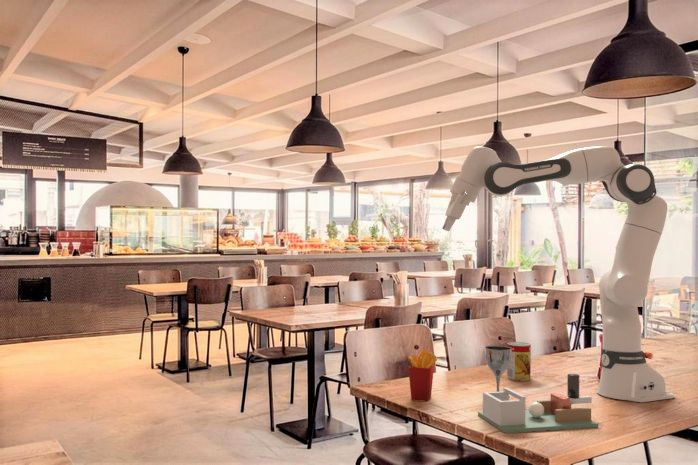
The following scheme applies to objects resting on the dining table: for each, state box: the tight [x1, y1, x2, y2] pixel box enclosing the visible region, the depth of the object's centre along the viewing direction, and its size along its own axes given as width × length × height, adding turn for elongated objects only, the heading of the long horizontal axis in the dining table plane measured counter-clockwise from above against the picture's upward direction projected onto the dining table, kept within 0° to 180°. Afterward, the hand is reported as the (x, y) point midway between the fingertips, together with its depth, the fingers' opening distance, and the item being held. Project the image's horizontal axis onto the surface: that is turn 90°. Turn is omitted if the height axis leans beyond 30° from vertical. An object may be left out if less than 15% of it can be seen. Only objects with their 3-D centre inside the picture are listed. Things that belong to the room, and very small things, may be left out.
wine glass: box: [484, 344, 512, 399], centre depth 188 cm, size 8×8×15 cm
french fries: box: [407, 348, 438, 402], centre depth 185 cm, size 9×8×15 cm
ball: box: [528, 401, 544, 418], centre depth 162 cm, size 4×4×4 cm
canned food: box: [506, 341, 532, 382], centre depth 214 cm, size 8×8×12 cm
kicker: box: [550, 373, 592, 414], centre depth 165 cm, size 10×6×10 cm, turn 103°
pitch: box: [477, 387, 599, 434], centre depth 162 cm, size 26×16×8 cm, turn 103°
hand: (445, 230), depth 201 cm, fingers open, 8 cm apart
